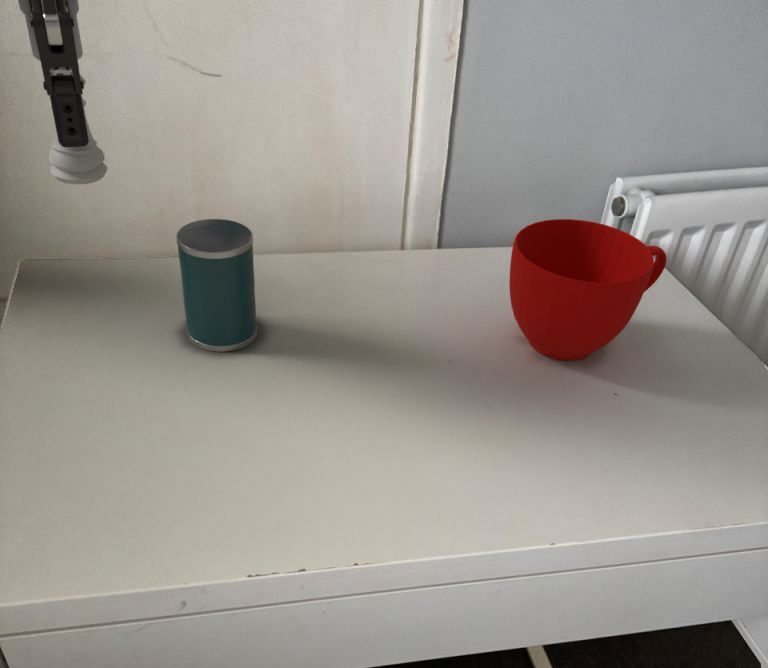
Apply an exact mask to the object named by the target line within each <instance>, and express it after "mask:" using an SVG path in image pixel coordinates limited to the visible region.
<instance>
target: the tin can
mask: <svg viewBox="0 0 768 668" xmlns="http://www.w3.org/2000/svg"><path fill="white" fill-rule="evenodd" d="M175 236H176V244H177V250H178V259H179V268H180V277H181V285H182V294H183V303H184V305H183V306H184V312H185V313H184V314H185V321H186V336H187V339H188V340H189V341H190V343H191V344H193V346H195V347H197V348H198V349H199V348H200V349H202V350H205V351H209V352H221V353H222V352H232V351H237V350H241V349H244V348H245V347H247V346H249V345H251V344H252V343H253V342H254V341H255V339H256V338H257V336H258V325H257V310H256V309H257V308H256V287H255V286H256V285H255V266H254V265H255V264H254V235H253V232H252V230H251V229H250V228H249V227H248V226H246V225H245V224H243V223H241V222H238V221H235V220H231V219H223V218H205V219H198V220H195V221H192V222H189V223H187V224H185V225H183V226H181V227H180V228H179V229H178V231H177V232H176V235H175Z"/></svg>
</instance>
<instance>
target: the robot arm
mask: <svg viewBox="0 0 768 668" xmlns="http://www.w3.org/2000/svg"><path fill="white" fill-rule="evenodd" d="M17 1H18V7H19V10H20V11H21V13H22V14H23V15H24V17H25V22H26V27H27V33H28V38H29V43H30V47H31V54H32V56H33V57H34V58H35V59H36V60H37V61H39V62H40V65H41V70H42V71H41V72H42V75H43V76H44V80H45V82H43V86H44V87H43V86H42V87H43V90H44V91H46V94H47V96H48V97H49V99H50V100H51V105H52V109H51V111H52V110H53V115H54V120H55V125H56V131H57V136H58V141H59V143H60V145H61V146H63V147H83V146H86V145H87V144H88V142H89V139H88V133H87V127H86V121H85V115H86V114H85V115H84V109H85V108H84V109H83V104H82V98H83V97H82V98H81V95H82V96H83V94H84V92H83V90H84V89H85V85H83V81H81V79H80V75H81V73H80V65H79V60H81V58H82V57H83V55H84V53H83V45H82V39H81V35H80V34H81V33H80V27H79V22H78V16H77V15H78V13H79V10H80V5H79V0H17ZM53 67H54V69H55V70H58V69H59V67H66V70H70V69H69V68H71V69H72V75H73V76H72V75H51V73H50V69H51V68H53ZM51 76H52V77H51ZM53 115H52V116H53Z"/></svg>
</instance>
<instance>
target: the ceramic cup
mask: <svg viewBox="0 0 768 668" xmlns="http://www.w3.org/2000/svg"><path fill="white" fill-rule="evenodd" d="M654 256H655V257H654ZM666 265H667V253H666V252H665V251H664V249H662V248H661V247H660V246H657V245H646V244H645V243H644V242H642V241H641V240H640V239H639V238H637V237H635V236H634V235H632V234H631V233H628V232H625V231H624V230H621V229H619V228H616V227H613V226H611V225H607V224H603V223H600V222H595V221H589V220H583V219H573V218H572V219H571V218H554V219H545V220H541V221H537V222H534V223H531V224H529V225H526V226H525V227H523V228H522V229H520V230H519V231H518V232H517V234H516V235H515V237H514V240H513V244H512V250H511V256H510V265H509V279H508V280H509V281H508V282H509V285H508V286H509V287H508V288H509V298H510V304H511V310H512V313H513V316H514V319H515V321H516V323H517V325H518V327H519V329H520V332H522V334H523V335H524V337H525V338H526V340H528V344H529V345H530V346H531V348H532V349H534V350H535V352H537V353H539V354H541V355H543V356H546V357H547V358H550V359H554V360H559V361H579V360H583V359H586V358H588V357H589V356H591V355H592V354H594V353H595V352H597V351H599V350H601V349H603V348H604V347H606V346H607V345H608V344H610V343H611V342H612V341H613V340H614V339H616V338H617V336H619V335H620V333H622V332H623V330H624V329H625V328H626V327H627V326H628V324H629V322H630V321H631V320H632V318H633V317H634V314H635V312H636V310H637V308H638V306H639V304H640V302H641V301H642V298H643V297H644V293H645V292H646V291H648V290H649V289H650V288H652V286H653V285H654V284H655V283H656V282H657V281H658V279H660V277H661V275H662V274H663V272H664V270H665V268H666Z"/></svg>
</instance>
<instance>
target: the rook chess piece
mask: <svg viewBox="0 0 768 668" xmlns="http://www.w3.org/2000/svg"><path fill="white" fill-rule="evenodd" d="M69 69H70V70H66V67H59V69H58V70H55V69H54V67H53V68H51V69H50V73H51V75H72V69H71V68H69ZM72 76H73V75H72ZM51 77H52V76H51ZM80 79H81V81H83V85H84V86H86V83H87V82H86V81H87V80H86V79H85V78H84V77H83V76H82V75H81V74H80ZM43 82H45V80H44V75H43V76H42V77H41V79H40V83H39V84H40V85H41V86H42V87H43V88H44V86H43ZM81 98H82V104H83V109H84V115H85V121H86V127H87V133H88V139H89V142H88V144H87V145H86V146H83V147H63V146H61V145H60V143H59V141H58V136H57V131H56V125H55V120H54V115H53V110H52V105H51V100H50V98H49V99H48V101H47V105H48V106H49V108H50V110H51V114H52V122H53V141H51V148H50V150H49V153H48V161H49V162H50V164H51V166H50V169H49V172H50V174H52V176H54V177H55V179H57V181H59V182H62V183H63V184H69V185H89V184H94V183H96V182H98V181H101V180H102V179H103V178H104V177H105V175H106V174H107V171H108V166H107V165H106V163H104V161H105V154H104V151H103V150H102V149H101V148H100V147H99V146H98V144H97V143H98V142H97V141H96V140H95V138H94V137H93V135H92V133H91V129H90V126H89V123H88V119H87V116H86V112H85V111H86V110H85V107H86V104H87V101H86V100H85V99H84V97H83V94H82V95H81Z"/></svg>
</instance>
